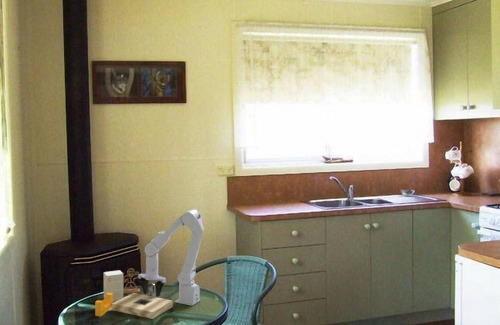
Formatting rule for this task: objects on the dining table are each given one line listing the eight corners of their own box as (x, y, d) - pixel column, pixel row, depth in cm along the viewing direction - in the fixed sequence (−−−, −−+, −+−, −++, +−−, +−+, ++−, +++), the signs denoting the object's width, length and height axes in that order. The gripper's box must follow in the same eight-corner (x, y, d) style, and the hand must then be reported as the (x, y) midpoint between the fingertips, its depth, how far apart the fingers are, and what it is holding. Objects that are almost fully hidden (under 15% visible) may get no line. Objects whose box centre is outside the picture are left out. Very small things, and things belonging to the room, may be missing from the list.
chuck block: (172, 306, 236) (172, 300, 236) (152, 318, 222) (152, 312, 222) (133, 298, 245) (133, 292, 245) (111, 309, 231) (111, 303, 230)
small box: (120, 296, 249) (120, 269, 247) (123, 300, 243) (123, 273, 242) (103, 298, 245) (103, 271, 244) (106, 302, 239) (106, 275, 238)
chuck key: (157, 296, 249) (157, 282, 248) (151, 300, 244) (151, 285, 243) (152, 295, 250) (152, 281, 249) (145, 299, 245) (145, 284, 244)
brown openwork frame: (121, 294, 251) (121, 270, 250) (121, 291, 255) (121, 267, 254) (139, 293, 254) (140, 269, 252) (139, 290, 257) (139, 267, 256)
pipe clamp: (103, 306, 236) (103, 292, 235) (112, 306, 235) (112, 293, 234) (91, 315, 224) (91, 301, 223) (100, 316, 223) (100, 302, 222)
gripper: (134, 267, 245) (134, 294, 246) (160, 271, 239) (159, 299, 240) (143, 263, 251) (143, 290, 252) (168, 267, 245) (168, 295, 247)
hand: (151, 294), depth 247 cm, fingers open, 7 cm apart
